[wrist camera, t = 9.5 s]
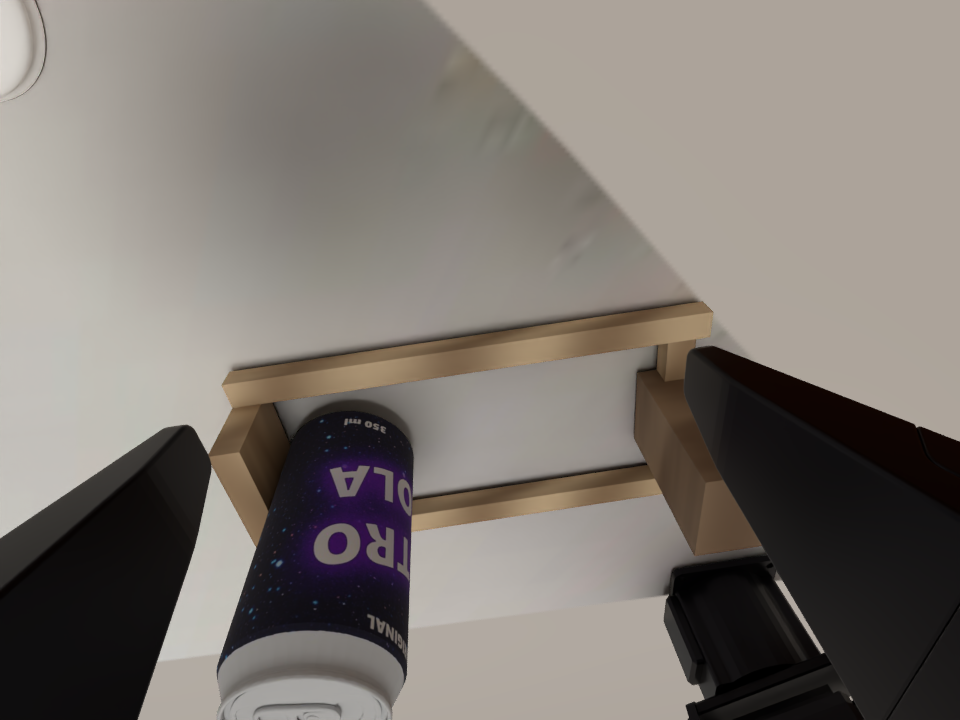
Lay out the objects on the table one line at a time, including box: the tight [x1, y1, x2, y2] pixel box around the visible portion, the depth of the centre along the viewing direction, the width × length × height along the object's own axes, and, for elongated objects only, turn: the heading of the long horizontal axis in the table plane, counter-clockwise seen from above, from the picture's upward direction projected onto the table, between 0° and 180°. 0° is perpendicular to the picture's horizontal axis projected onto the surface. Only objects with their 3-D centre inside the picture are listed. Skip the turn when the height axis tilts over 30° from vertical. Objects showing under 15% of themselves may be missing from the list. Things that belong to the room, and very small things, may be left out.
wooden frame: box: [209, 301, 762, 556], centre depth 22 cm, size 21×10×7 cm, turn 97°
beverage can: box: [217, 411, 414, 720], centre depth 20 cm, size 6×6×12 cm
